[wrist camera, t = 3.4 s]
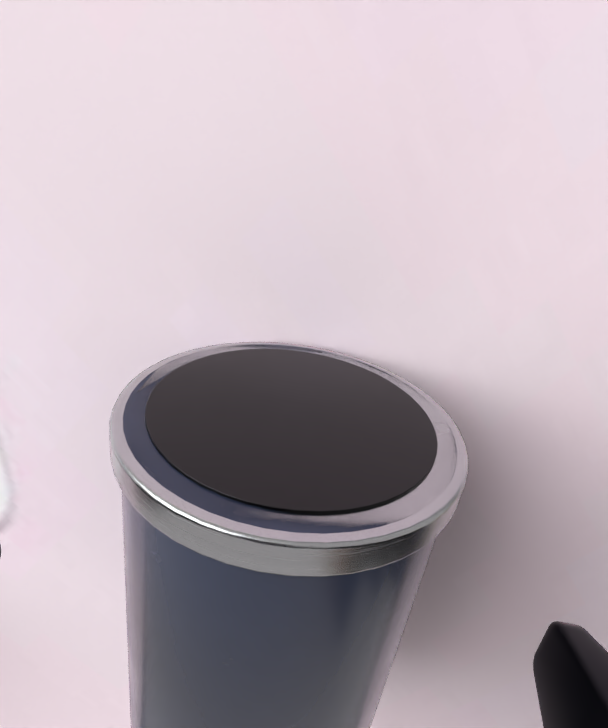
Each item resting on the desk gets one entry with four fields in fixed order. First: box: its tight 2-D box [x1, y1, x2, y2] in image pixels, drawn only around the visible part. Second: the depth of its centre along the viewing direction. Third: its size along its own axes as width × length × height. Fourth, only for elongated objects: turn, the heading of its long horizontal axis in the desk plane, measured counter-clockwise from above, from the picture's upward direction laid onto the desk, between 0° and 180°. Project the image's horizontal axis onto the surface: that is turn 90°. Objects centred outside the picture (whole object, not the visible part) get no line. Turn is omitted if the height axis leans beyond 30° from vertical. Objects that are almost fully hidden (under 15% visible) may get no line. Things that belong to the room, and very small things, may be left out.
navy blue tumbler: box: [110, 342, 468, 728], centre depth 11 cm, size 6×6×9 cm
